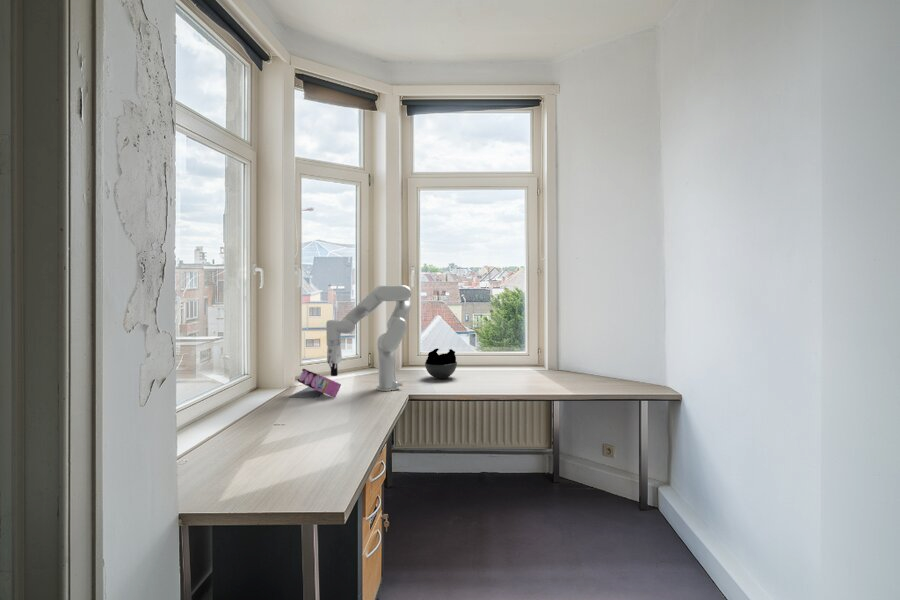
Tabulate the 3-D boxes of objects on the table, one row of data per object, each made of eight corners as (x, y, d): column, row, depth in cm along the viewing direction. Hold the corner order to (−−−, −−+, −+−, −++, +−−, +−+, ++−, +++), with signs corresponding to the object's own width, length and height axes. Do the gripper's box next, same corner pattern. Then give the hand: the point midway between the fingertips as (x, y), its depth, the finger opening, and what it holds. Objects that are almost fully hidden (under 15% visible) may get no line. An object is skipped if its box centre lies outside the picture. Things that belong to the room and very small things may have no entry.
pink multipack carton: (316, 388, 284) (295, 380, 276) (322, 375, 286) (302, 367, 278) (335, 398, 266) (313, 389, 258) (341, 384, 267) (320, 375, 259)
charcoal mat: (334, 388, 290) (334, 386, 290) (315, 398, 265) (315, 397, 265) (309, 387, 292) (309, 386, 292) (288, 397, 268) (288, 396, 268)
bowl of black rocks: (418, 378, 314) (418, 348, 313) (442, 374, 327) (442, 345, 326) (439, 383, 299) (439, 351, 298) (463, 378, 313) (463, 348, 312)
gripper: (334, 344, 267) (335, 378, 268) (345, 340, 282) (345, 373, 283) (321, 344, 269) (322, 378, 269) (332, 340, 283) (333, 373, 284)
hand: (334, 375), depth 276 cm, fingers closed
